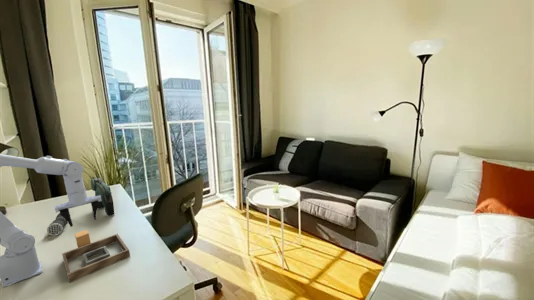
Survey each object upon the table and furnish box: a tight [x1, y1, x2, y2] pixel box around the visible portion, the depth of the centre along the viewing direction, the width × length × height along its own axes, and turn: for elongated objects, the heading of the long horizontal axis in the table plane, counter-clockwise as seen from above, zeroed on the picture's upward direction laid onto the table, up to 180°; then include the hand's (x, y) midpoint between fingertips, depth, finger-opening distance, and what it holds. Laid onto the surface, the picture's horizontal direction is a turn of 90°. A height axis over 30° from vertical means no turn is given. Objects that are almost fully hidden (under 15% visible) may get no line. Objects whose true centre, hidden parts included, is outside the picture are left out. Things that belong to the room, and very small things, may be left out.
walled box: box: [62, 233, 131, 283], centre depth 91 cm, size 18×16×3 cm
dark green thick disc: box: [90, 174, 115, 217], centre depth 129 cm, size 20×6×20 cm, turn 48°
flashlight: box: [46, 212, 68, 236], centre depth 115 cm, size 15×5×5 cm, turn 27°
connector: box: [74, 229, 92, 248], centre depth 98 cm, size 4×4×6 cm
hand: (83, 222), depth 99 cm, fingers open, 7 cm apart
